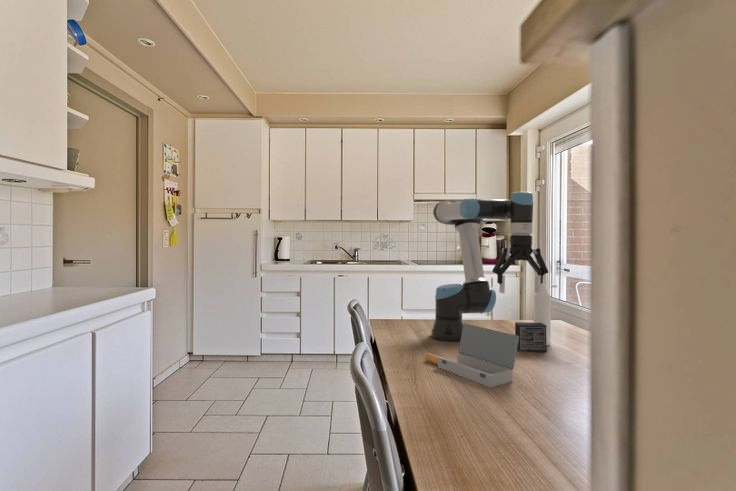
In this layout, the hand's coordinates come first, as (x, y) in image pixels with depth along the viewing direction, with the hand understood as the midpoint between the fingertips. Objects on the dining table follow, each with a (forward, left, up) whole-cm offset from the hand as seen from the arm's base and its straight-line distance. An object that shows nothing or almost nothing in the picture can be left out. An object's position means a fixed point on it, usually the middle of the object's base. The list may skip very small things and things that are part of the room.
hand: (519, 292), depth 147 cm
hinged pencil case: (+3, -28, -24) cm, 37 cm away
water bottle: (-7, +27, -24) cm, 37 cm away
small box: (-5, +14, -24) cm, 29 cm away
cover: (+3, -22, -15) cm, 27 cm away
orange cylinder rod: (-11, -29, -24) cm, 39 cm away
